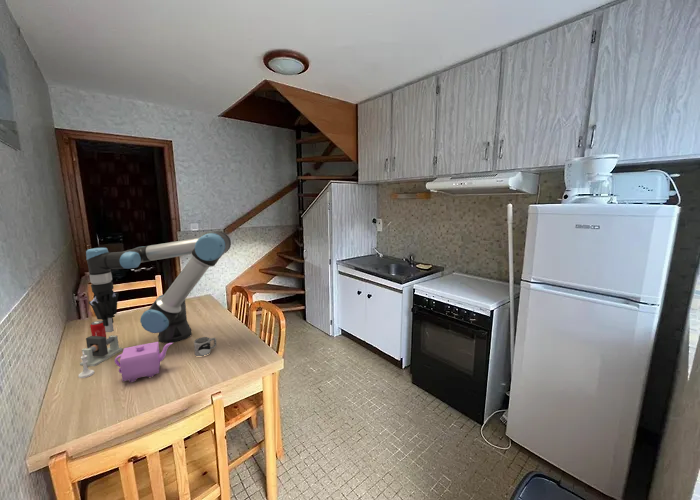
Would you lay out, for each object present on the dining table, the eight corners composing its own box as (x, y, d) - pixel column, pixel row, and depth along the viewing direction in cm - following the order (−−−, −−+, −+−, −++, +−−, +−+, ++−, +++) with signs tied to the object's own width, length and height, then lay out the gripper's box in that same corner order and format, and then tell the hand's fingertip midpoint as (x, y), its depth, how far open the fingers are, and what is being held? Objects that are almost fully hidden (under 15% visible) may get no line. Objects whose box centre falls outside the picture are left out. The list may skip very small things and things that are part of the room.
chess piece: (93, 369, 123) (89, 347, 121) (95, 374, 120) (92, 351, 118) (77, 375, 119) (73, 352, 118) (79, 379, 116) (75, 356, 115)
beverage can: (99, 348, 140) (96, 325, 139) (90, 347, 141) (87, 324, 140) (110, 343, 145) (106, 320, 144) (101, 342, 147) (98, 319, 145)
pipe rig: (109, 349, 140) (107, 334, 139) (122, 350, 139) (121, 335, 138) (80, 365, 126) (77, 349, 125) (94, 366, 126) (92, 350, 124)
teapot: (114, 387, 112) (110, 356, 110) (119, 373, 120) (115, 345, 118) (175, 372, 122) (172, 344, 120) (175, 361, 130) (173, 334, 128)
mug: (199, 358, 132) (198, 345, 131) (192, 354, 136) (191, 340, 135) (220, 350, 140) (219, 337, 139) (213, 346, 144) (212, 333, 143)
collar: (93, 352, 132) (91, 335, 131) (108, 353, 132) (105, 336, 130) (88, 355, 130) (85, 338, 129) (103, 356, 129) (100, 339, 128)
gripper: (107, 278, 138) (114, 325, 142) (79, 286, 125) (88, 337, 129) (122, 278, 137) (129, 325, 141) (95, 286, 125) (104, 338, 129)
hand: (109, 331), depth 135 cm, fingers closed
